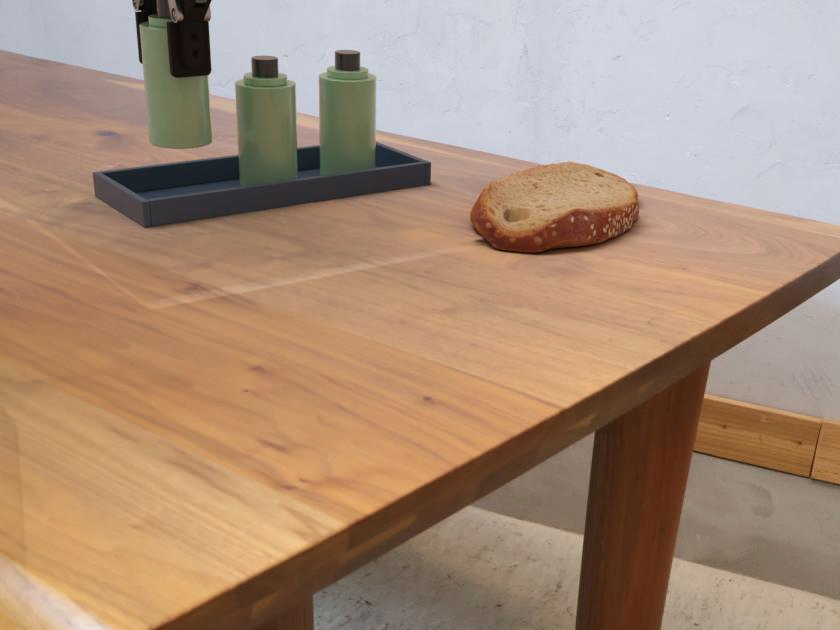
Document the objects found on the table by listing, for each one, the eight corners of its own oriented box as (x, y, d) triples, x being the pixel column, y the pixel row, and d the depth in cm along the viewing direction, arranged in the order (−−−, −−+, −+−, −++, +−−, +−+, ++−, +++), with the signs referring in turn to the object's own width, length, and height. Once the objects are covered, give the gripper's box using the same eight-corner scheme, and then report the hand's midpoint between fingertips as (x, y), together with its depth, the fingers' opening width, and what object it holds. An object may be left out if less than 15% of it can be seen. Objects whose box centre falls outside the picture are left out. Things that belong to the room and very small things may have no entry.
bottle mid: (257, 200, 97) (251, 64, 91) (229, 186, 100) (223, 54, 95) (308, 193, 99) (306, 60, 94) (280, 179, 103) (276, 51, 98)
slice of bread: (601, 184, 108) (605, 144, 106) (701, 241, 93) (707, 196, 91) (420, 195, 102) (421, 153, 101) (495, 257, 87) (498, 209, 86)
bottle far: (338, 188, 101) (337, 58, 96) (309, 175, 104) (307, 49, 99) (386, 181, 104) (387, 54, 99) (356, 169, 107) (356, 45, 102)
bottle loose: (165, 151, 90) (153, 2, 85) (139, 138, 94) (126, -6, 88) (223, 144, 93) (215, -1, 88) (196, 132, 96) (186, -9, 91)
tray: (145, 235, 89) (142, 202, 88) (95, 203, 96) (92, 172, 95) (430, 191, 104) (431, 162, 103) (369, 166, 111) (369, 138, 110)
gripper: (61, -198, 86) (88, 56, 94) (155, -198, 74) (176, 93, 83) (156, -193, 90) (173, 50, 99) (260, -192, 78) (269, 84, 87)
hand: (174, 67), depth 90 cm, fingers closed on bottle loose, 5 cm apart
